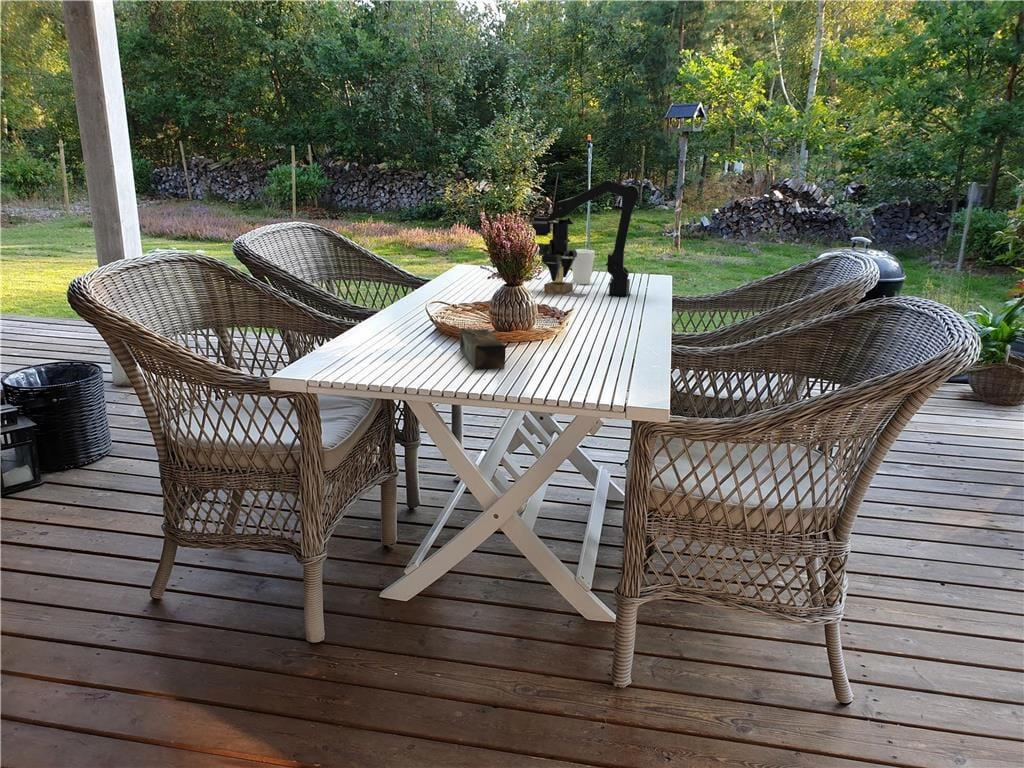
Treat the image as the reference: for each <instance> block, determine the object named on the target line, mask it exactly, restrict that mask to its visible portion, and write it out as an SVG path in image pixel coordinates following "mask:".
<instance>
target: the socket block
mask: <svg viewBox="0 0 1024 768" xmlns="http://www.w3.org/2000/svg"><path fill="white" fill-rule="evenodd" d="M543 286H544V287H543V290H544V291H543V292H544V294H549V295H550V294H552V295H558V296H564V295H567V294H569V293H574V291H573V290H574V289H573V288H574V282H567V281H566V282H565V281H563V285H555V281H550V282H547V283H545V284H544V285H543Z"/></svg>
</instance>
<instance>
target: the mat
mask: <svg viewBox="0 0 1024 768" xmlns="http://www.w3.org/2000/svg"><path fill="white" fill-rule="evenodd" d="M589 295H590V294H589V293H580V292H579V293H578V292H571V293H568V294H566V295H563V296H564V297H571V298H578V299H579V298H580V299H581V298H584V297H587V296H589Z"/></svg>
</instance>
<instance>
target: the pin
mask: <svg viewBox="0 0 1024 768" xmlns="http://www.w3.org/2000/svg"><path fill="white" fill-rule="evenodd" d="M563 282H564V277H563V266H562V265H560V268H559V271H558V274H557V277H556V280H555V285H563Z"/></svg>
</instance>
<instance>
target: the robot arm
mask: <svg viewBox="0 0 1024 768" xmlns="http://www.w3.org/2000/svg"><path fill="white" fill-rule="evenodd" d="M607 192H609V193H611V194H614V195H616V196H618V197H621V214H620V219H619V224H618V228H617V233H616V239H615V243H614V247H613V248H614V249H613V251H612V253H611V252H608V254H607V261H606V264H605V266H606V267H607V272H608V274H610V276H611V277H612V278H610V282H608V283H609V286H608V297H616V298H617V297H618V298H627V297H630V296H631V294H632V293H630V284H631V283H630V282H631V278H629V275H630V271H629V270H628V269H627V268H626V267H625V247H626V242H627V237H628V233H629V227H630V223H631V219H632V213H633V210H634V208H635V206H636V203H637V201H638V198H639V194H640V190H639V188H638V187H637V186H636V185H634V184H628V185H625V184H622V183H619V182H616V181H612V180H611V179H605V180H604V181H603V182H602V183H599V184H597V185H595V186H593V187H591V188H590V189H588V190H585V191H583V192H581V193H580V194H578V195H575V196H573V197H572V196H571V197H570V198H566V199H563V200H559V201H557V202H555V203H554V205H552V212H550V214H549V215H548V217H542V216H541V217H539V216H534V217H533V218H532V225H531V228H532V227H533V228H534V229H535V230H536V236H535V237H548V236H549V234H551V233H552V238H550V240H549V241H548V242H549V243H547V244H544V243H542V242H541V243H538V244H537V245H539V247H540V251H539V253H538V256H541V262H542V263H543V264H544V265H546V267H548V271H549V274H550V278H551V282H553V281H555V280H556V277H557V274H558V271H559V268H560V266H563V279H564V278H566V277H567V276H568V273H569V271H570V269H571V268H572V264H573V262H574V260H575V258H576V257H577V252H576V250H577V249H571V248H568V247H569V243H570V242H571V239H570V238H569V225H571V226H572V225H573V224H575V221H573V220H572V219H571V217H570V216H569V217H568V218H566V219H564V218H565V217H566V216H568V215H569V214H570V213H572V212H573V211H574V210H576V209H577V208H578V207H580V206H582V205H584V204H586V203H587V202H589V201H592V200H595V198H598V197H599V196H602V195H603V194H605V193H607ZM556 219H558V221H555V220H556ZM572 257H573V258H572Z"/></svg>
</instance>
